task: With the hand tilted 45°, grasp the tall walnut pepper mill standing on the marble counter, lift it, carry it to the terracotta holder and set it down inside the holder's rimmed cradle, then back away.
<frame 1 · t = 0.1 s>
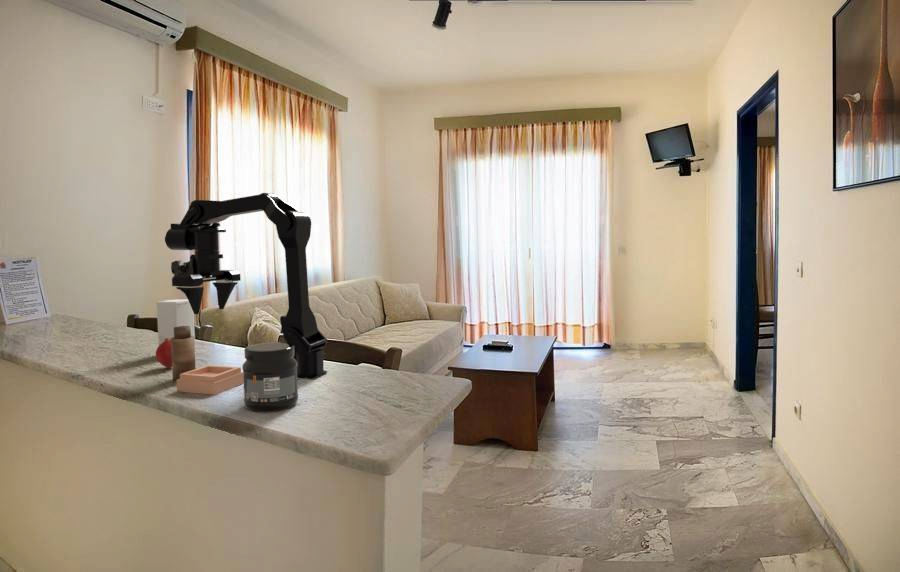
hand: (209, 311, 143), 15 cm above the table, tool pointing down, fingers open, 9 cm apart
pepper mill: (184, 379, 133), on the table
mill holder: (211, 386, 126), on the table
supplement container: (271, 406, 113), on the table
onion: (169, 368, 144), on the table
skincare box: (177, 354, 162), on the table
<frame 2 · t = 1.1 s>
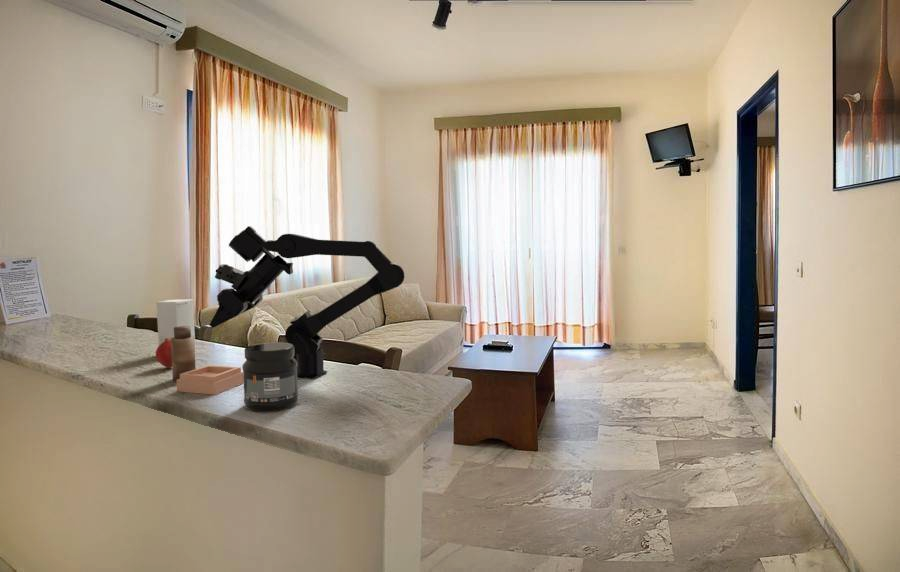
hand: (217, 323, 133), 13 cm above the table, tool tilted 45°, fingers open, 9 cm apart
nothing on the table moved.
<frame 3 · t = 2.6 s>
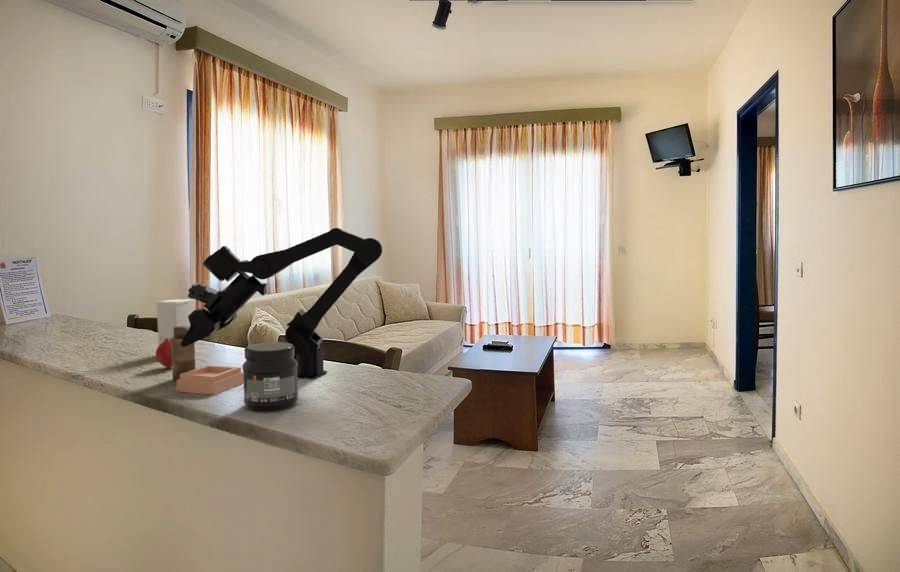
hand: (189, 341, 132), 9 cm above the table, tool tilted 45°, fingers open, 9 cm apart
nothing on the table moved.
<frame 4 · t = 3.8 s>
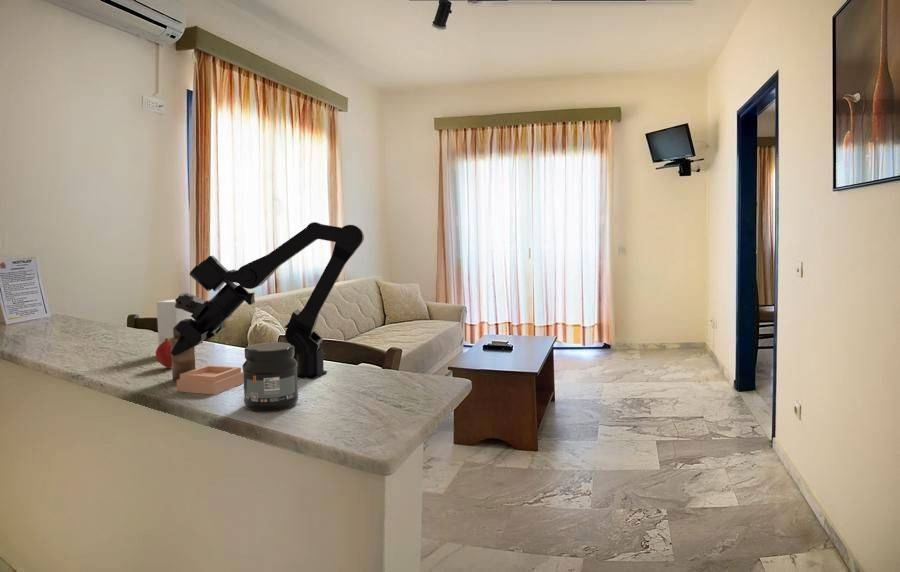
hand: (177, 351, 132), 7 cm above the table, tool tilted 45°, fingers closed on pepper mill, 5 cm apart
pepper mill: (184, 378, 133), on the table, touching gripper
everything else where it was.
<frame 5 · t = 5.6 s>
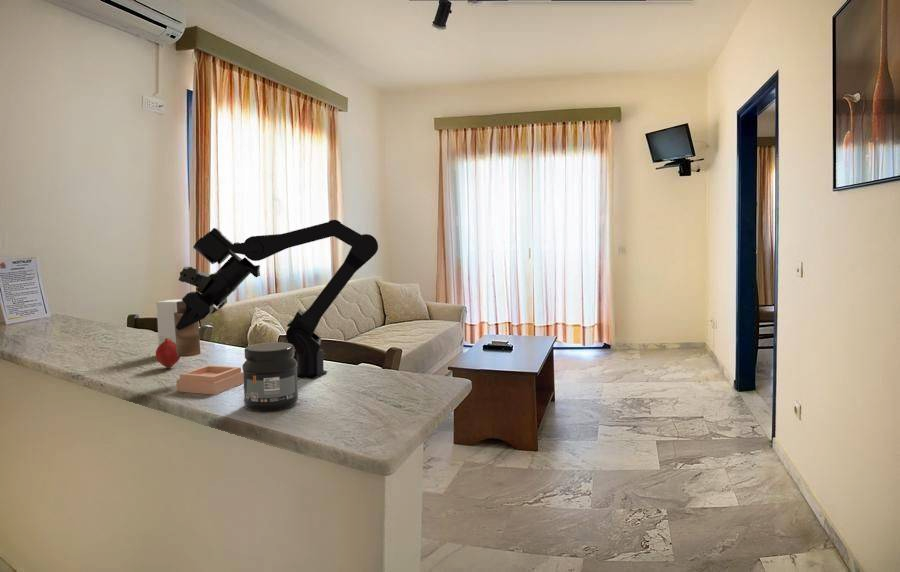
hand: (180, 326, 130), 13 cm above the table, tool tilted 45°, fingers closed on pepper mill, 5 cm apart
pepper mill: (188, 354, 131), point 6 cm above the table, touching gripper
everything else where it was.
when the fingers open (10 cm above the table, at t = 7.3 s): pepper mill stays where it is, resting on mill holder.
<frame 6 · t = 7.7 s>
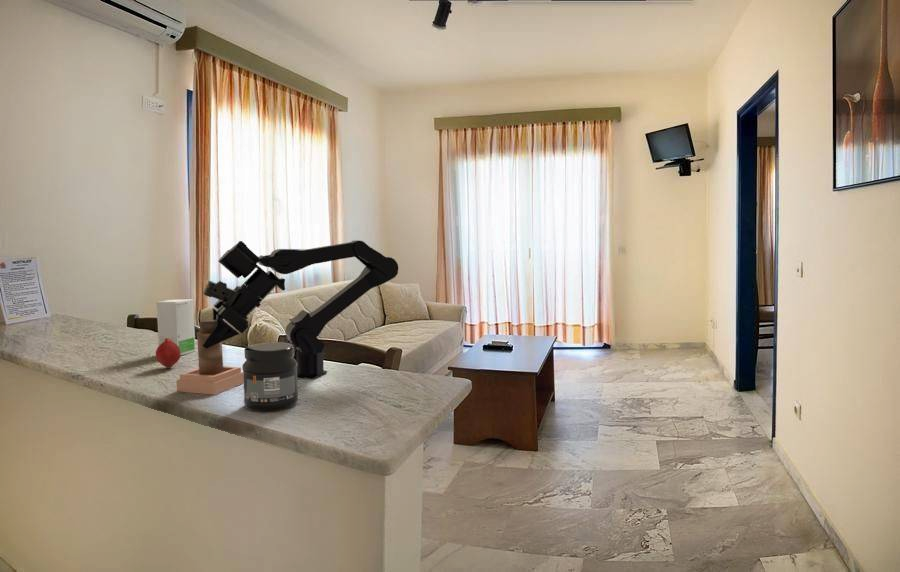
hand: (203, 343, 125), 10 cm above the table, tool tilted 45°, fingers open, 9 cm apart
pepper mill: (211, 375, 126), point 3 cm above the table, touching mill holder
everything else where it was.
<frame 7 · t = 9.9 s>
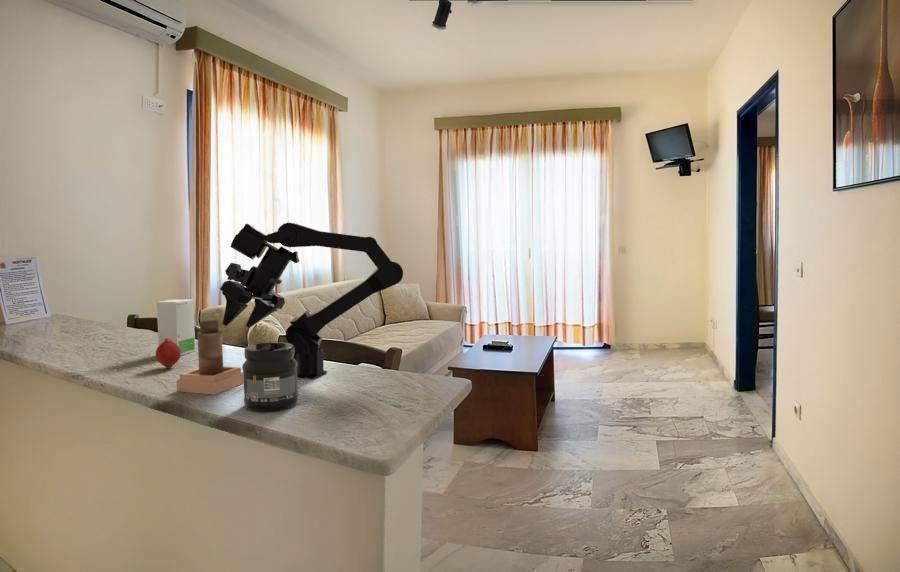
hand: (236, 325, 133), 13 cm above the table, tool tilted 30°, fingers open, 9 cm apart
nothing on the table moved.
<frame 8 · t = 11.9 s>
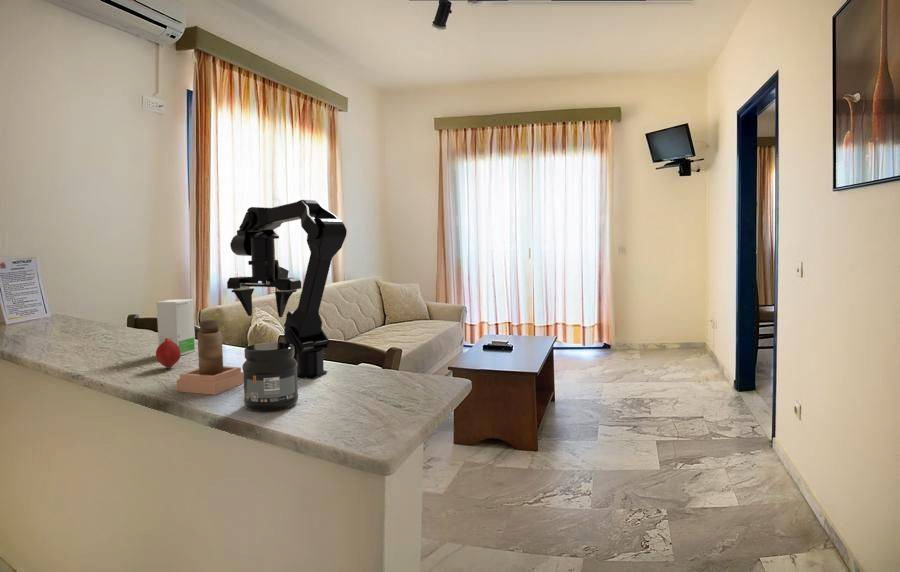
hand: (265, 316, 145), 13 cm above the table, tool pointing down, fingers open, 9 cm apart
nothing on the table moved.
at the end: pepper mill 0.1 cm off-centre on the mill holder, point 2.5 cm above the mill holder's base; pepper mill tilted 0°; the gripper is holding nothing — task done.
